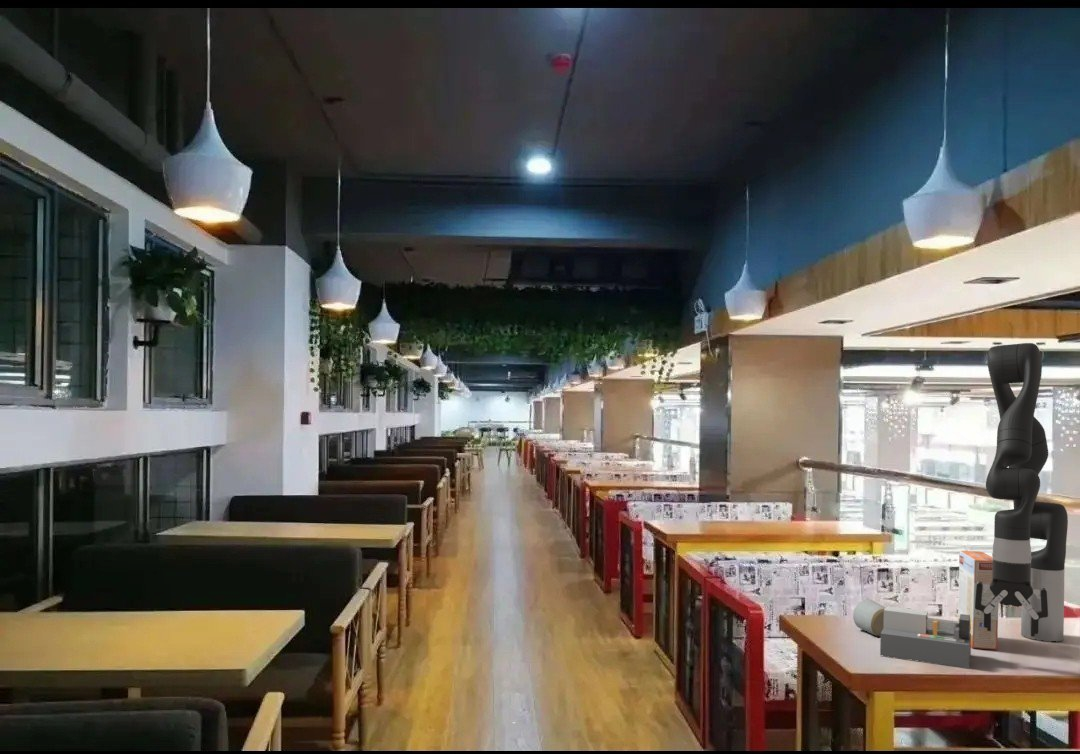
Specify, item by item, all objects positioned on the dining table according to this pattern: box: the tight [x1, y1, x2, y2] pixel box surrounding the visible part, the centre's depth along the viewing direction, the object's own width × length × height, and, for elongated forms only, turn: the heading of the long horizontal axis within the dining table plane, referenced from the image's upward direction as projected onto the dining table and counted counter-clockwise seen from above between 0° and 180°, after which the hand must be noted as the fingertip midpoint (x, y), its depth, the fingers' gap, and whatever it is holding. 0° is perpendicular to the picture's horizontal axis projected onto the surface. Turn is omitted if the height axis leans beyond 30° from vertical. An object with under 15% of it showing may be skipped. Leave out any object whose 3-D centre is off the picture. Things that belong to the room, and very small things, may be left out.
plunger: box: [926, 614, 970, 640], centre depth 207 cm, size 9×11×4 cm
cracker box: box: [957, 550, 999, 651], centre depth 221 cm, size 14×6×21 cm, turn 168°
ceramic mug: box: [852, 598, 886, 637], centre depth 227 cm, size 11×8×8 cm
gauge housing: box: [879, 605, 972, 669], centre depth 208 cm, size 12×18×9 cm, turn 63°
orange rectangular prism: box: [933, 621, 937, 636], centre depth 204 cm, size 1×1×3 cm
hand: (1010, 632), depth 202 cm, fingers open, 8 cm apart
